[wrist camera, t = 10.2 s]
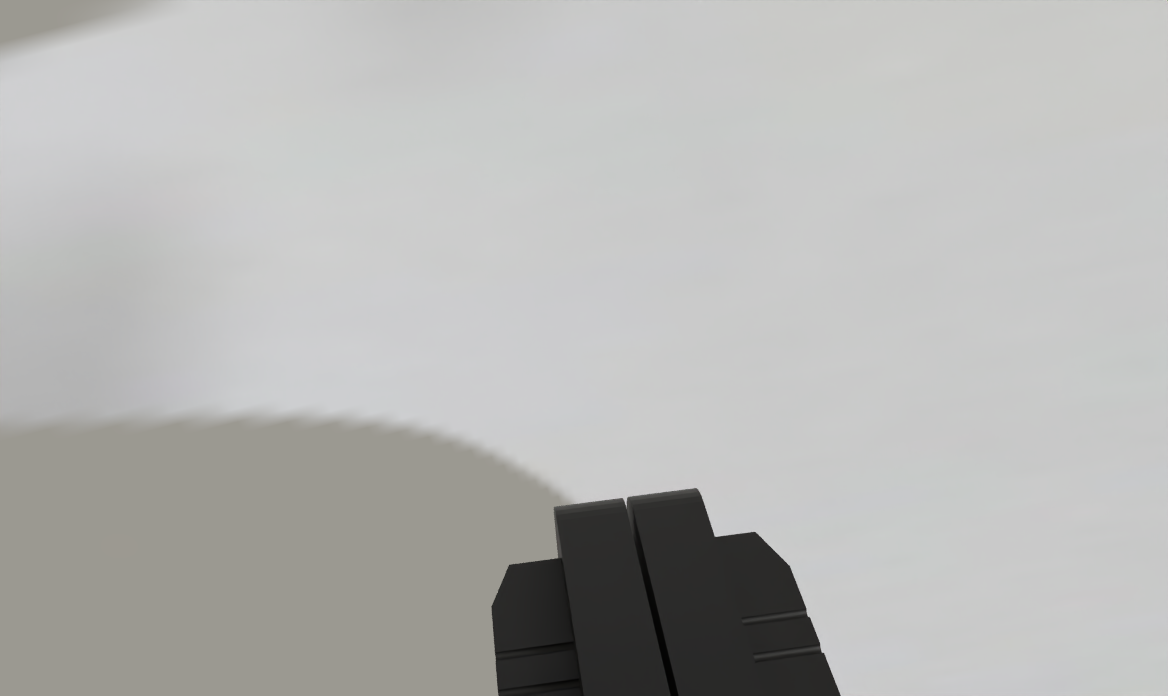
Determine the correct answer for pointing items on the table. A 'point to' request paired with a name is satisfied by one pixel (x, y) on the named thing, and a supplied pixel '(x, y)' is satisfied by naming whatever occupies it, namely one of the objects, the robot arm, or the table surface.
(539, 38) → the table surface
